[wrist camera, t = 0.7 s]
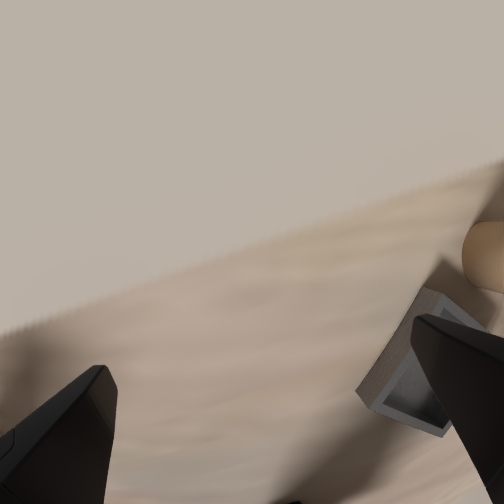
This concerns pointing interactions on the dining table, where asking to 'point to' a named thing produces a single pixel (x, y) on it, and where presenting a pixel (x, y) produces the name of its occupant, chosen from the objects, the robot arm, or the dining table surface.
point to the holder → (411, 370)
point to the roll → (485, 255)
